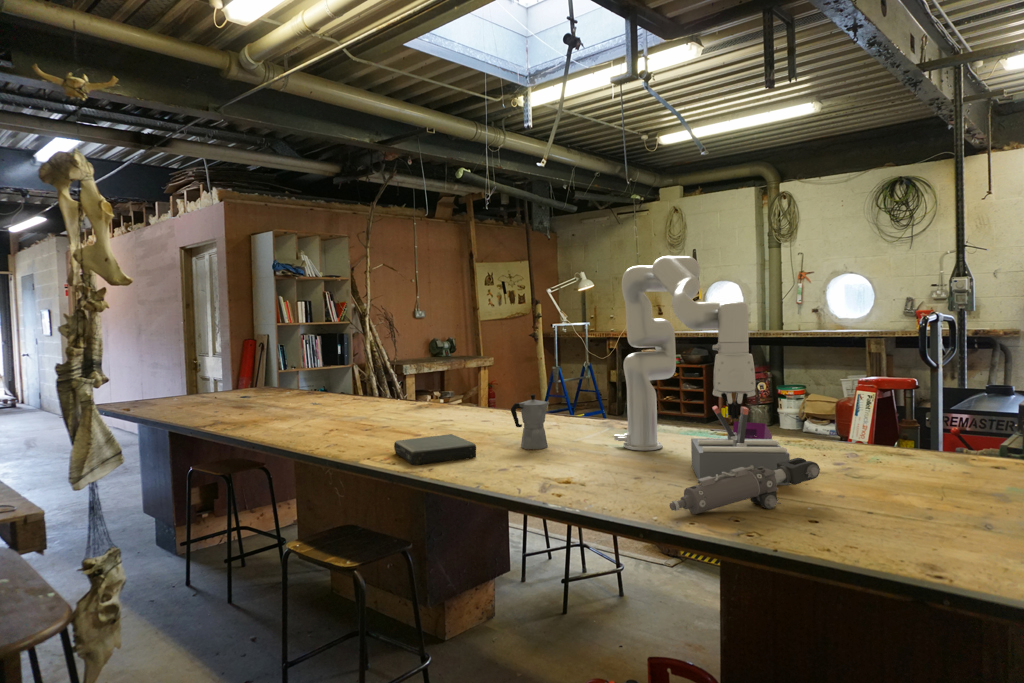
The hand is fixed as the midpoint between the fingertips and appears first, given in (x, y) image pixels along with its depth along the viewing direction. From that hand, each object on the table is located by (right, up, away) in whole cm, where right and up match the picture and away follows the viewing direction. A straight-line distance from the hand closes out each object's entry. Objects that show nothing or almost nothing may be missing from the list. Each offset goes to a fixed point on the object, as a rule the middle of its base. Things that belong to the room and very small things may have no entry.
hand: (734, 417), depth 166 cm
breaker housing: (+2, -16, +4) cm, 17 cm away
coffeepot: (-52, -16, +47) cm, 72 cm away
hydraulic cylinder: (-6, -18, -24) cm, 30 cm away
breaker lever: (+2, -7, 0) cm, 7 cm away
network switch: (-84, -18, +38) cm, 94 cm away
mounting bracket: (+19, -15, +37) cm, 44 cm away
